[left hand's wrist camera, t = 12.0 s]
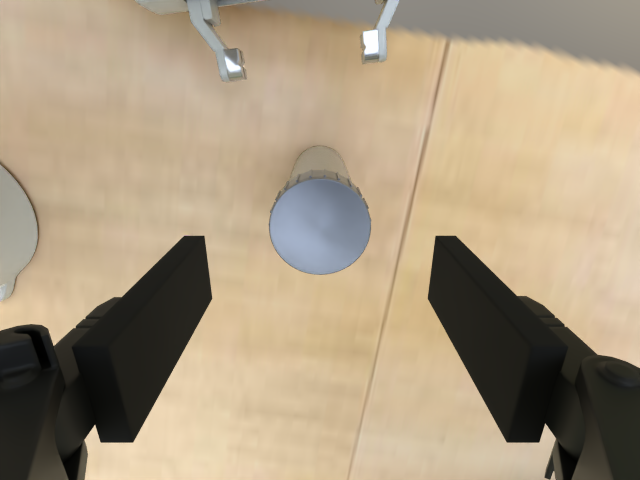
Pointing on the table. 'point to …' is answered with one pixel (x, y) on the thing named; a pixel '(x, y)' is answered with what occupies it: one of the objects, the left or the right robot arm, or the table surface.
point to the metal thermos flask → (320, 161)
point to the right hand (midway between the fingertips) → (303, 71)
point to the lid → (320, 222)
